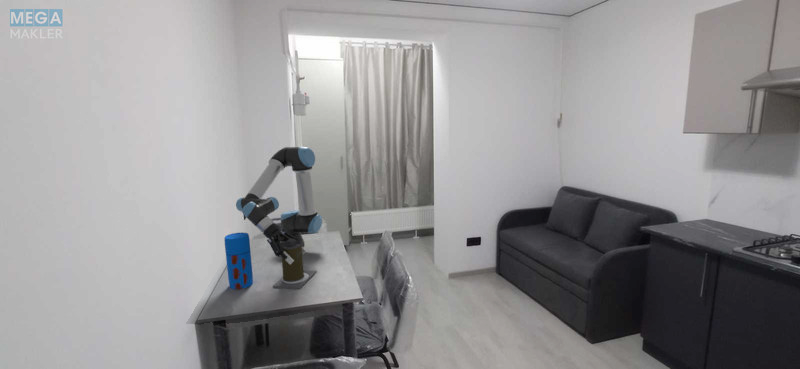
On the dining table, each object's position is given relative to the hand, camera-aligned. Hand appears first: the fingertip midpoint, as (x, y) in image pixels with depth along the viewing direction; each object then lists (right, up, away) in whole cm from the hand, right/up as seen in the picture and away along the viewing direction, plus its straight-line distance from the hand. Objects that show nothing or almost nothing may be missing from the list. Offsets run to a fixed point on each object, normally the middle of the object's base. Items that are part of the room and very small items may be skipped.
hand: (298, 257), depth 175 cm
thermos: (-27, -13, -2) cm, 30 cm away
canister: (-3, -11, +3) cm, 11 cm away
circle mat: (-2, -11, +2) cm, 12 cm away
